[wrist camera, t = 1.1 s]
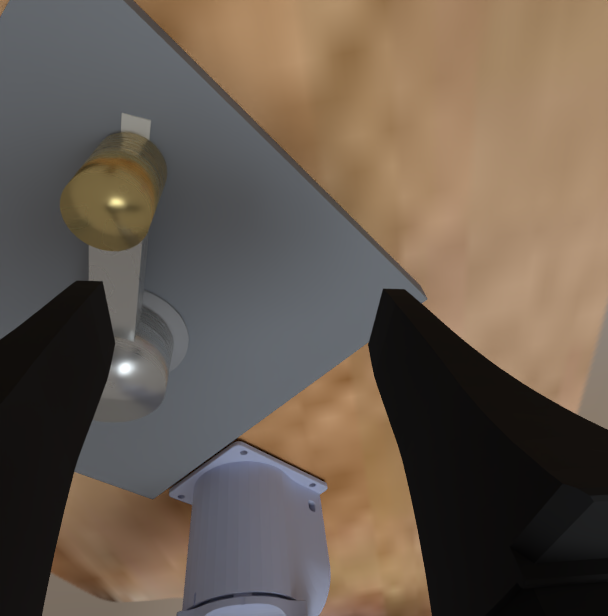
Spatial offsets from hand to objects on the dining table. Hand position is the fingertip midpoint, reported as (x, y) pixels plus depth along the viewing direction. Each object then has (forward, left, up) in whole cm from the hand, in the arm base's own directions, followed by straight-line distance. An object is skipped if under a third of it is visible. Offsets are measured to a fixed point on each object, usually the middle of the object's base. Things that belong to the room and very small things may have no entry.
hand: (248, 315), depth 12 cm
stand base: (-1, +10, -9) cm, 14 cm away
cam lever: (+1, +7, -8) cm, 10 cm away
